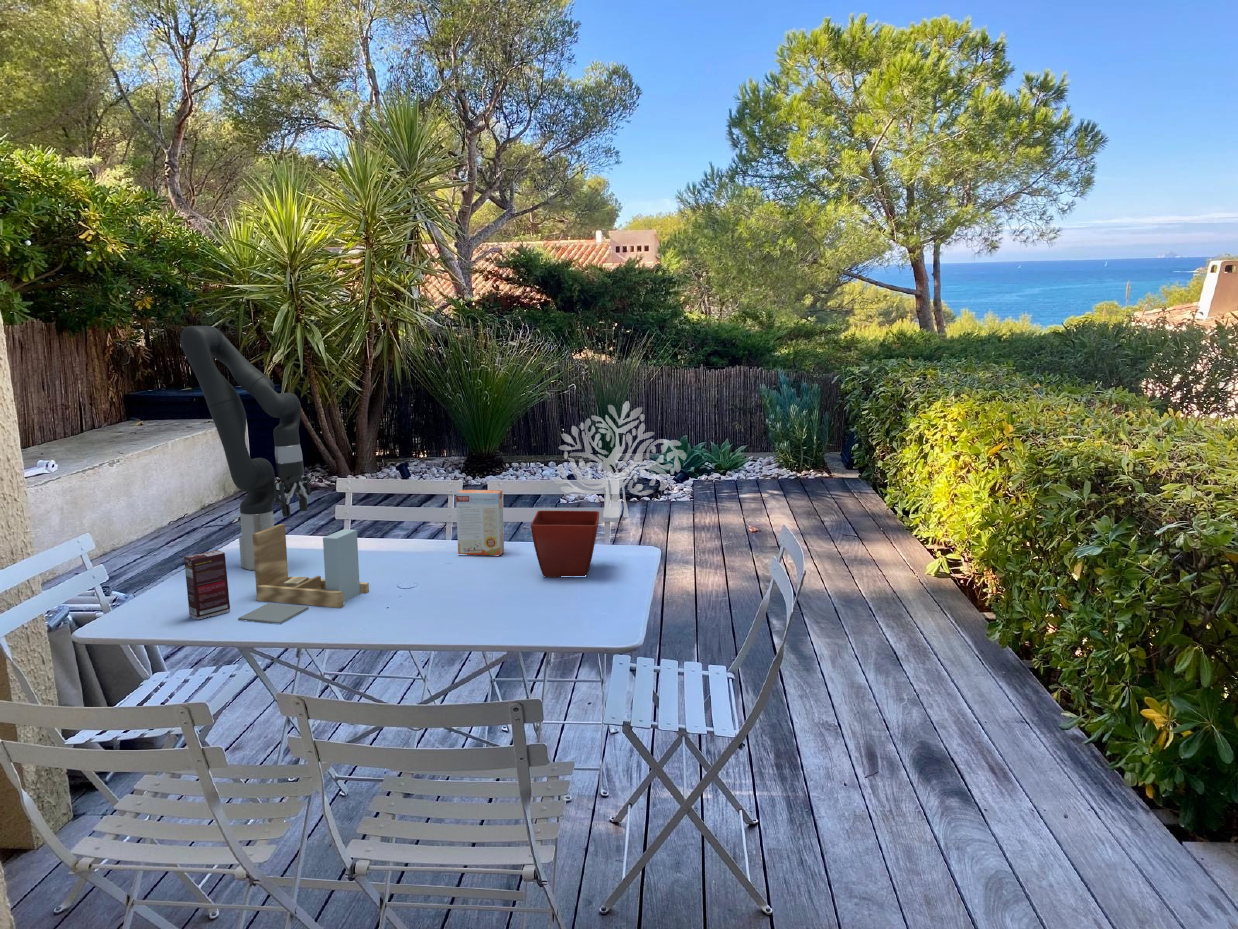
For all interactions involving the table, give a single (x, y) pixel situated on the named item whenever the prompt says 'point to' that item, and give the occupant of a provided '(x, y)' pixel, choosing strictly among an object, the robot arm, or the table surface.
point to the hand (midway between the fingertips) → (295, 513)
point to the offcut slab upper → (295, 581)
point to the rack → (275, 572)
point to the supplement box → (207, 584)
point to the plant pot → (564, 541)
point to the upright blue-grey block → (342, 563)
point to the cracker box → (480, 522)
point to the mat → (273, 613)
